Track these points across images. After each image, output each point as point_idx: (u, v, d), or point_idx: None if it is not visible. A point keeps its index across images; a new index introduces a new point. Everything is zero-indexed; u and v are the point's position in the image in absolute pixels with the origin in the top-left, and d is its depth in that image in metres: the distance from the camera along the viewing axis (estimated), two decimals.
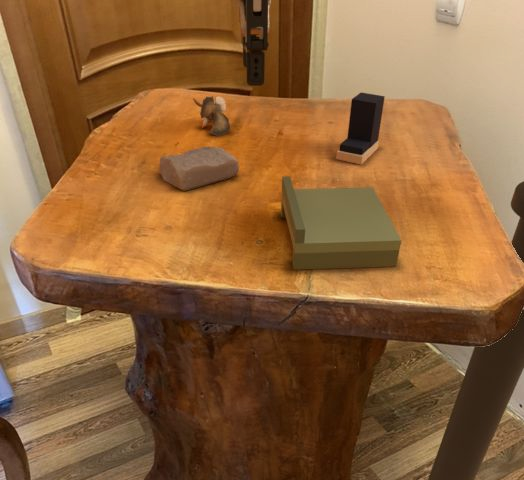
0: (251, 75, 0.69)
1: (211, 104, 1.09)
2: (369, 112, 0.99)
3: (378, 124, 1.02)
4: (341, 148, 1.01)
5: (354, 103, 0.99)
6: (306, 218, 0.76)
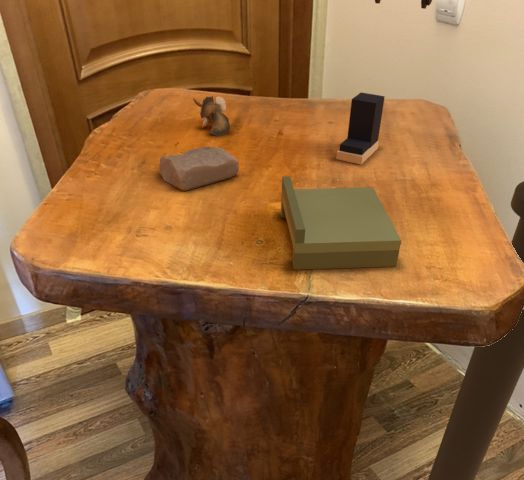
0: None
1: (211, 104, 1.09)
2: (369, 112, 0.99)
3: (378, 124, 1.02)
4: (341, 148, 1.01)
5: (354, 103, 0.99)
6: (306, 218, 0.76)
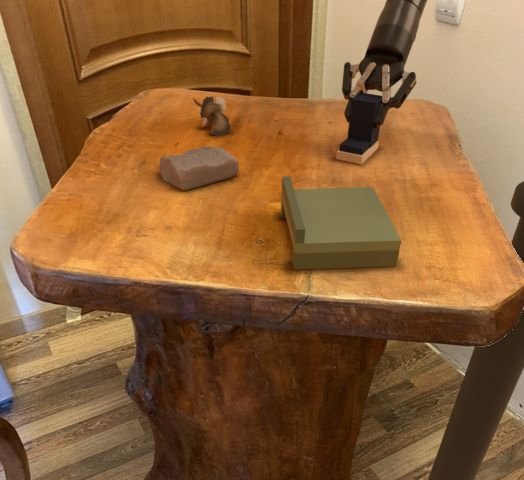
0: None
1: (211, 104, 1.09)
2: (369, 112, 0.99)
3: None
4: (341, 148, 1.01)
5: (354, 103, 0.99)
6: (306, 218, 0.76)
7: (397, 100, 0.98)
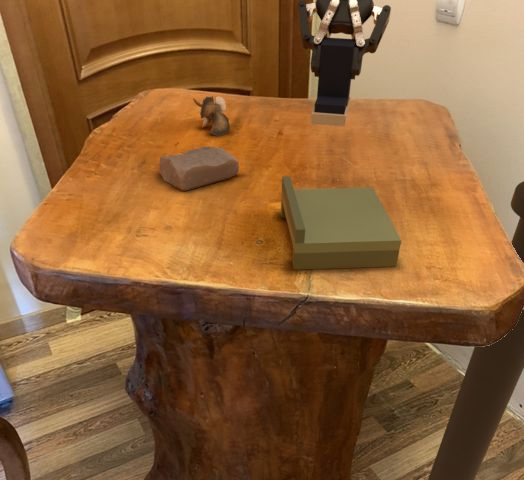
0: None
1: (211, 104, 1.09)
2: (345, 59, 0.79)
3: None
4: (317, 109, 0.80)
5: (324, 50, 0.79)
6: (306, 218, 0.76)
7: (375, 41, 0.79)
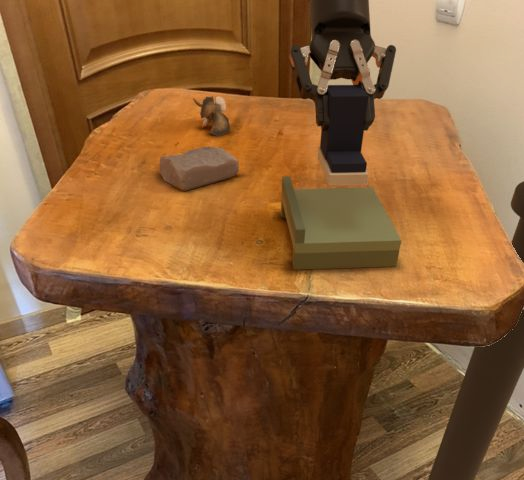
0: (316, 119, 0.71)
1: (211, 104, 1.09)
2: (358, 110, 0.69)
3: None
4: (334, 169, 0.69)
5: (335, 102, 0.68)
6: (306, 218, 0.76)
7: (386, 87, 0.70)
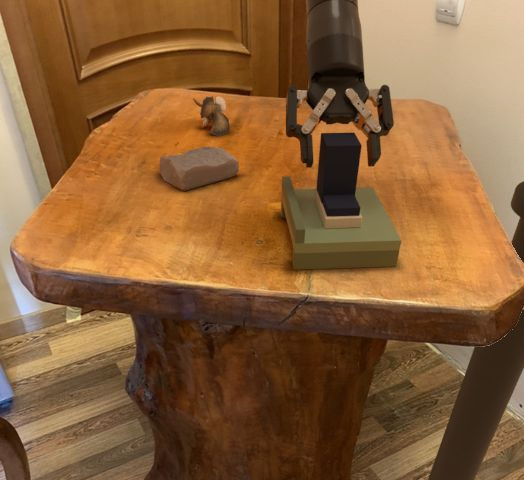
0: None
1: (211, 104, 1.09)
2: (352, 158, 0.73)
3: None
4: (330, 213, 0.73)
5: (330, 150, 0.72)
6: (306, 218, 0.76)
7: (391, 126, 0.74)
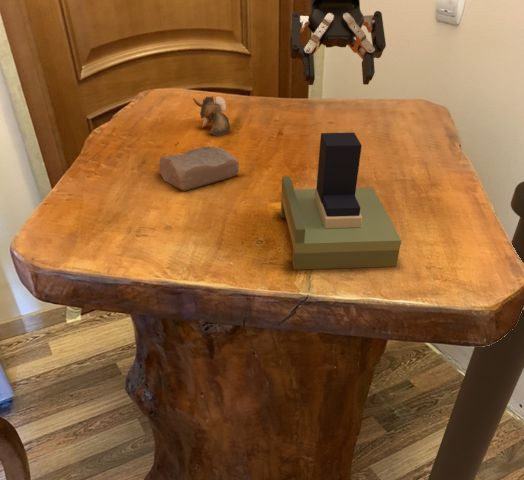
0: (303, 75, 0.84)
1: (211, 104, 1.09)
2: (352, 158, 0.73)
3: None
4: (330, 213, 0.73)
5: (330, 150, 0.72)
6: (306, 218, 0.76)
7: (384, 47, 0.83)
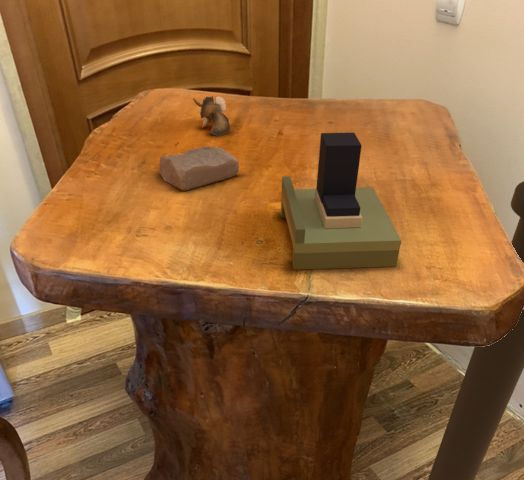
0: None
1: (211, 104, 1.09)
2: (352, 158, 0.73)
3: None
4: (330, 213, 0.73)
5: (330, 150, 0.72)
6: (306, 218, 0.76)
7: None
